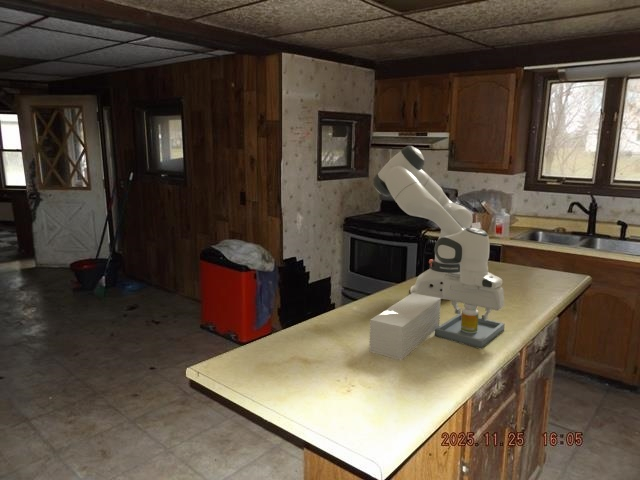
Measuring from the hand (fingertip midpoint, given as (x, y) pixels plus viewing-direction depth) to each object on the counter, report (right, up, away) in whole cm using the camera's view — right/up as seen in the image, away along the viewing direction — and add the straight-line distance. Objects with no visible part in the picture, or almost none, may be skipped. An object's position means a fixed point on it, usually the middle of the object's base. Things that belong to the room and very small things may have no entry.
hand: (470, 316), depth 161 cm
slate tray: (0, -6, +1) cm, 6 cm away
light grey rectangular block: (-22, -7, -3) cm, 24 cm away
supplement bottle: (0, -5, +1) cm, 5 cm away
